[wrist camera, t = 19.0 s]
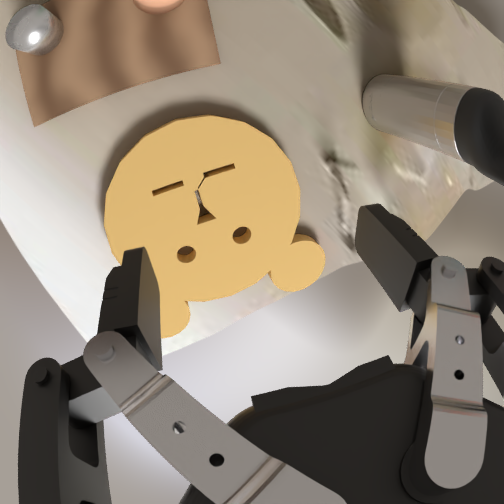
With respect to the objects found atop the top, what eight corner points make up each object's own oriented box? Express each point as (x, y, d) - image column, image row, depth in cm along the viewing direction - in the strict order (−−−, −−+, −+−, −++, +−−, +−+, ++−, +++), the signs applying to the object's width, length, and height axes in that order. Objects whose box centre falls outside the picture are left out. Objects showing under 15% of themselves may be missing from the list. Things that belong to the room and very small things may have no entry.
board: (195, -39, 24) (197, -44, 23) (218, 64, 32) (220, 63, 31) (15, 22, 21) (11, 20, 20) (38, 125, 29) (34, 127, 28)
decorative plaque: (59, 164, 33) (145, 333, 49) (53, 170, 31) (145, 344, 47) (293, 89, 37) (320, 271, 53) (302, 89, 35) (327, 279, 51)
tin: (58, 8, 21) (42, -5, 16) (68, 41, 24) (53, 32, 19) (21, 31, 21) (1, 22, 16) (31, 63, 24) (11, 59, 19)
